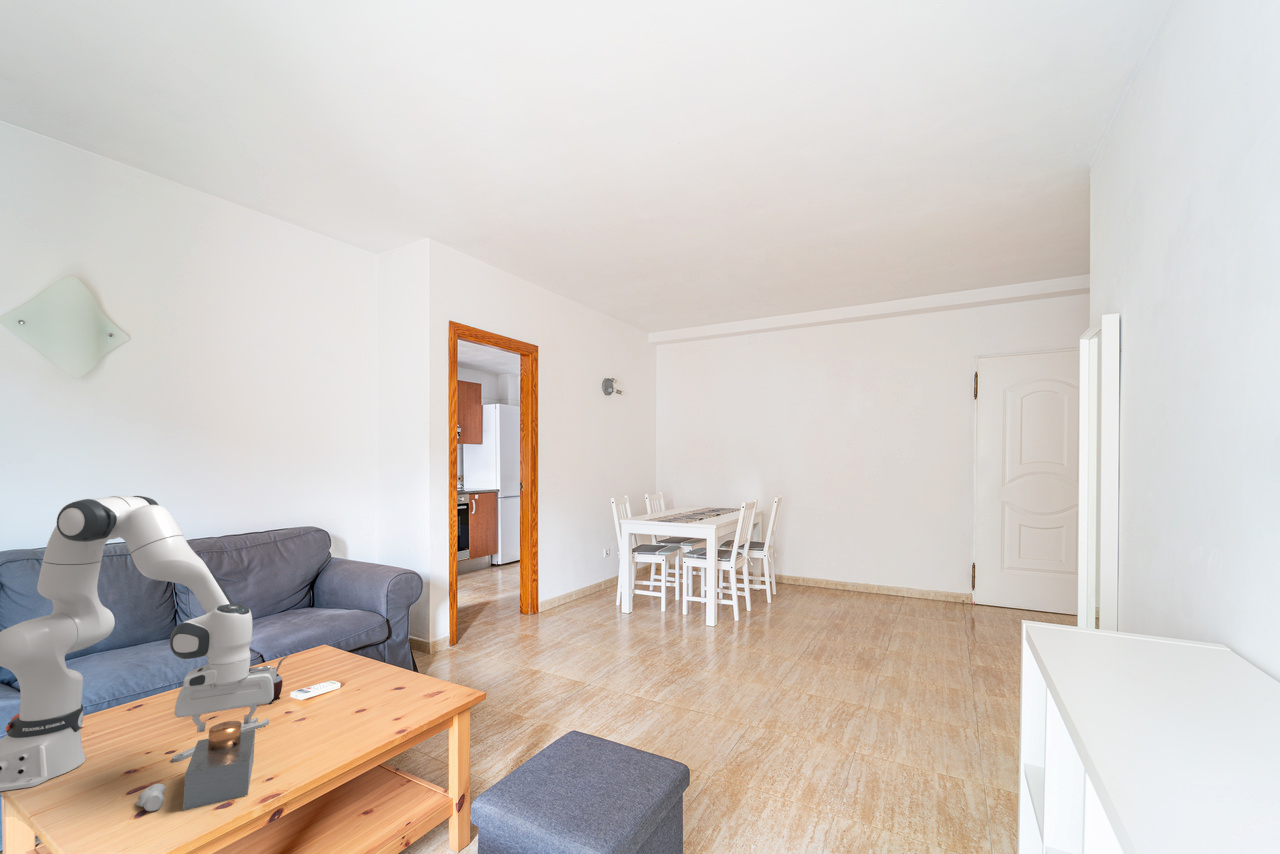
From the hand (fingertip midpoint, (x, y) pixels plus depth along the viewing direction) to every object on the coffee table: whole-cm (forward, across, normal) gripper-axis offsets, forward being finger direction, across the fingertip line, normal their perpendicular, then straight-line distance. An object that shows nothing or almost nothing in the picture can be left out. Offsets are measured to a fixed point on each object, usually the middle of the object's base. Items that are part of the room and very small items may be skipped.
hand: (224, 727), depth 142 cm
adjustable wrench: (+13, +2, -23) cm, 27 cm away
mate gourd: (+12, -8, -48) cm, 50 cm away
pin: (+11, 0, 0) cm, 11 cm away
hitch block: (+12, 0, +4) cm, 13 cm away
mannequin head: (+12, +12, +7) cm, 19 cm away
